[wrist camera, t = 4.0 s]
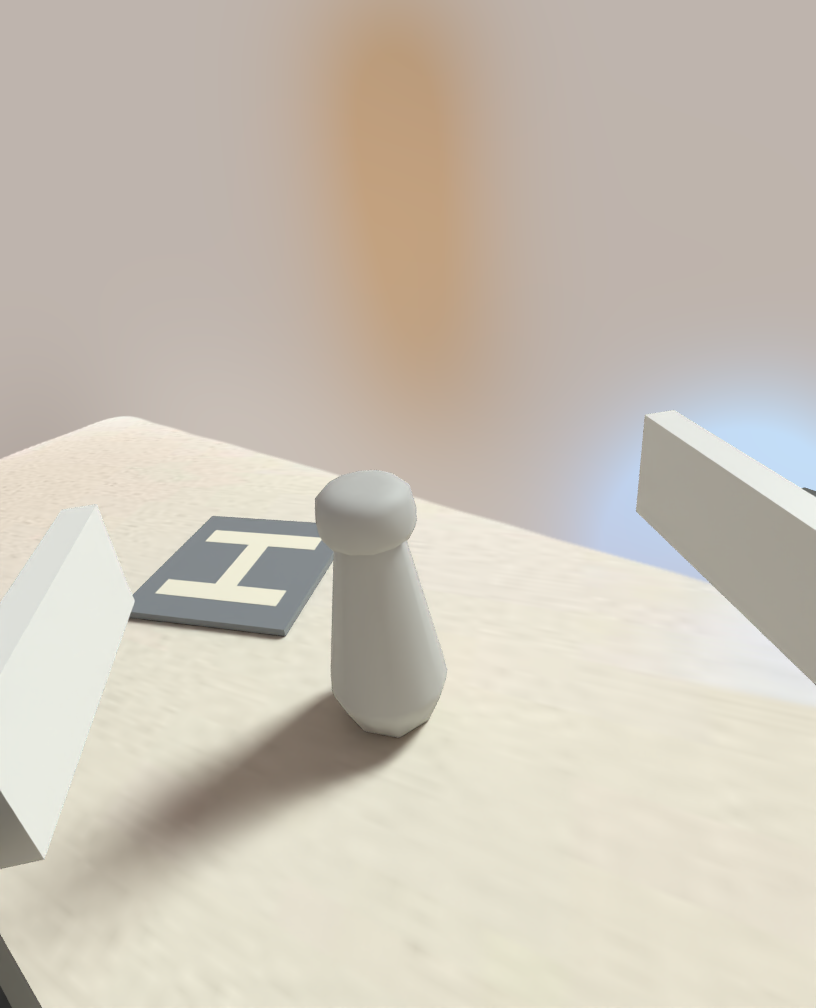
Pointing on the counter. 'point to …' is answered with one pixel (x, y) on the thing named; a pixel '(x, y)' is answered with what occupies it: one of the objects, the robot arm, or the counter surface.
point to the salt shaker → (378, 605)
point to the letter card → (238, 576)
